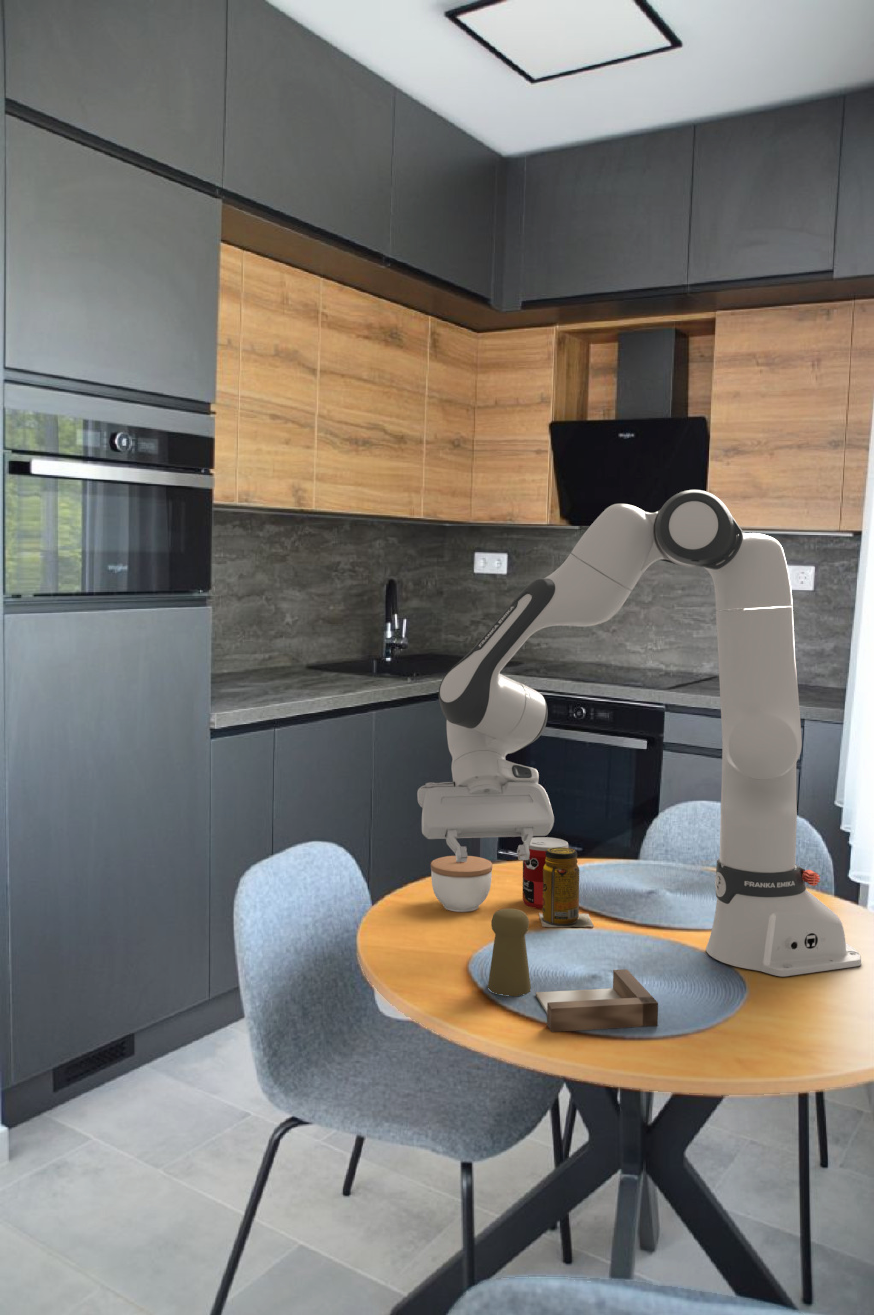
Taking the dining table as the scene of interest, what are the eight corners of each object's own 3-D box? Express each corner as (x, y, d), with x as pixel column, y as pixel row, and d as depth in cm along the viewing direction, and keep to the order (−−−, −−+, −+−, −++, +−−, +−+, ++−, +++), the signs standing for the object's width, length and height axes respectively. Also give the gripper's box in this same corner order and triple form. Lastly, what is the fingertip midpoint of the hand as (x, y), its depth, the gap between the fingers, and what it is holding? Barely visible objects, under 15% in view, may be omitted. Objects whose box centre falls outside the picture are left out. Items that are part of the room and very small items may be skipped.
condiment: (538, 914, 183) (539, 845, 182) (588, 914, 183) (589, 845, 182) (542, 928, 175) (543, 856, 174) (594, 928, 175) (595, 856, 174)
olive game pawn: (532, 997, 146) (533, 918, 145) (488, 996, 146) (489, 917, 145) (529, 980, 152) (530, 904, 151) (486, 980, 152) (487, 904, 151)
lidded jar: (504, 908, 186) (505, 855, 185) (457, 920, 179) (458, 865, 178) (464, 894, 194) (465, 843, 193) (417, 905, 187) (418, 852, 186)
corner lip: (626, 990, 148) (627, 969, 148) (657, 1025, 137) (658, 1003, 136) (528, 995, 146) (528, 974, 146) (551, 1032, 134) (551, 1008, 134)
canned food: (523, 896, 193) (524, 836, 192) (568, 898, 192) (569, 837, 191) (520, 909, 185) (521, 846, 185) (567, 911, 184) (568, 848, 184)
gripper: (417, 771, 164) (426, 850, 155) (547, 769, 167) (563, 846, 158) (413, 794, 169) (422, 872, 160) (539, 792, 172) (554, 867, 163)
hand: (493, 859), depth 159 cm, fingers open, 8 cm apart
